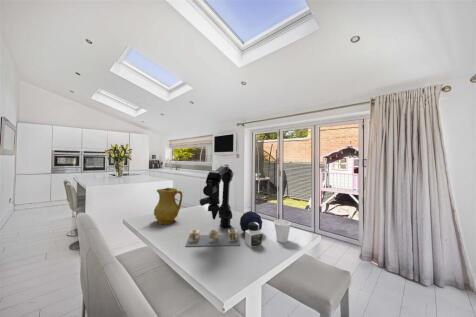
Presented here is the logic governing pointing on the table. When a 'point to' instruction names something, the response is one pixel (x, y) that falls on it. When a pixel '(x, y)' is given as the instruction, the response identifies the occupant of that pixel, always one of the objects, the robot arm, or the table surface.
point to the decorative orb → (250, 220)
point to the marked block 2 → (232, 235)
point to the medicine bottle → (253, 235)
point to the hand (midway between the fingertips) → (213, 219)
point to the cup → (282, 230)
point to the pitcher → (167, 206)
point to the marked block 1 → (194, 236)
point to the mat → (205, 242)
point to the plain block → (213, 236)
